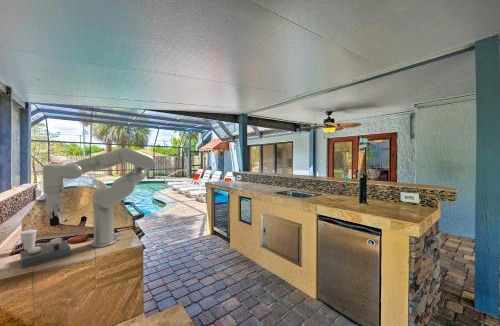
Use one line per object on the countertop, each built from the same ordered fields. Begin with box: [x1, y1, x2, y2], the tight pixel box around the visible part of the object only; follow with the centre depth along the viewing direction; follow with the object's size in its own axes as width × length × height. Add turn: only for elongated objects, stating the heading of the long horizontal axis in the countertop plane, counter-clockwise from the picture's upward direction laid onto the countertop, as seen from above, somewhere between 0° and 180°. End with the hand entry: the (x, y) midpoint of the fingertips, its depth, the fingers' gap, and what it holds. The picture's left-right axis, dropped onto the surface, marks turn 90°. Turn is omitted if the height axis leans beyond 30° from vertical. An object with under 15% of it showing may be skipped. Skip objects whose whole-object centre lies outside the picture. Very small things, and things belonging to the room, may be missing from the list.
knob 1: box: [28, 246, 41, 254], centre depth 106 cm, size 4×4×5 cm
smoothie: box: [19, 222, 38, 251], centre depth 117 cm, size 6×6×14 cm
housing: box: [19, 240, 72, 269], centre depth 109 cm, size 17×12×4 cm
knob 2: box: [49, 237, 63, 248], centre depth 112 cm, size 4×4×5 cm
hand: (54, 225), depth 111 cm, fingers closed
